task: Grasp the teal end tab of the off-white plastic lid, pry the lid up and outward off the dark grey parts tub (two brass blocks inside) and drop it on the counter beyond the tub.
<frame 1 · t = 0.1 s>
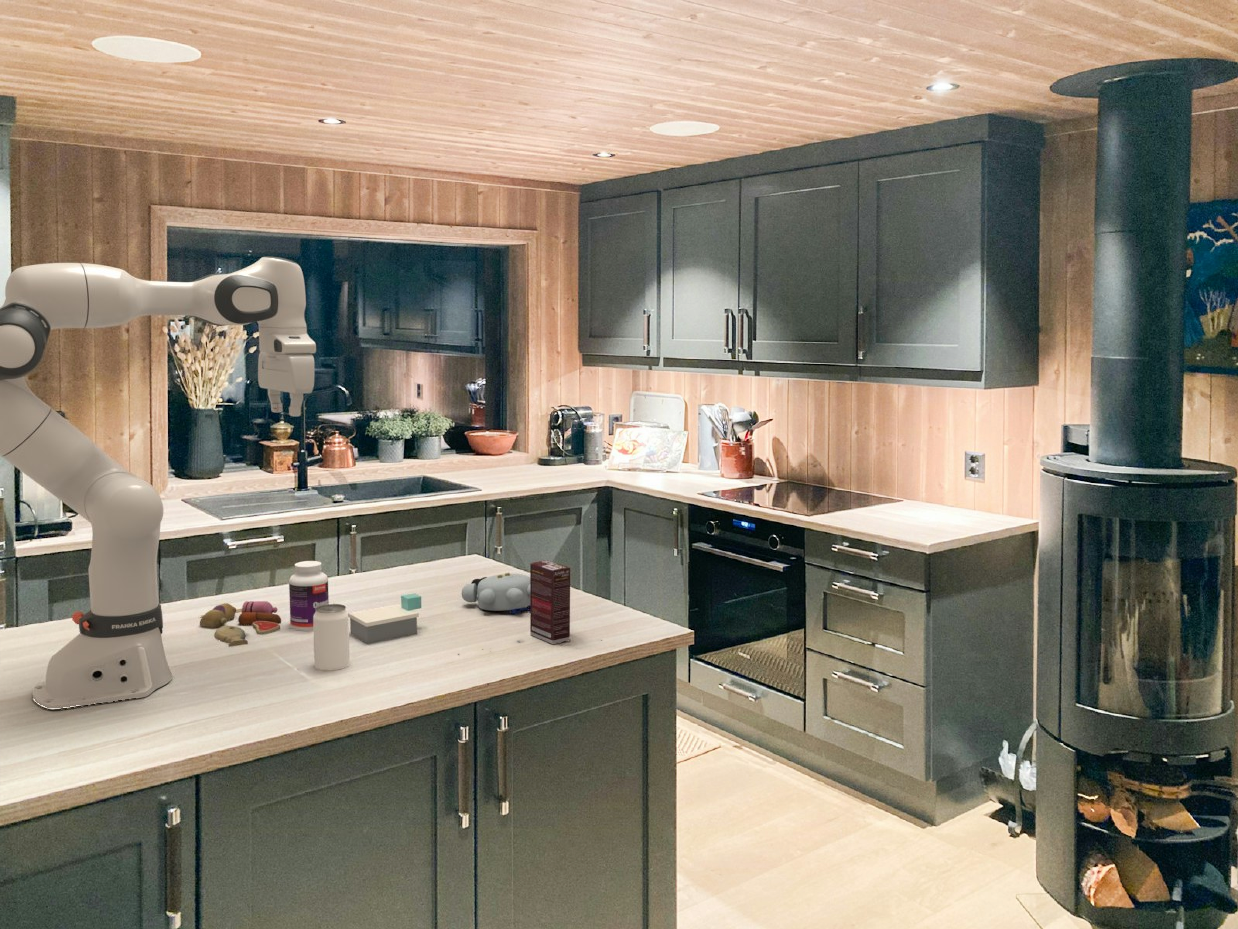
hand: (285, 414, 197), 48 cm above the countertop, fingers open, 8 cm apart
lid: (383, 616, 213), point 4 cm above the countertop, touching tub
pill bottle: (310, 629, 219), on the countertop
can: (332, 669, 194), on the countertop
tub: (383, 637, 213), on the countertop
toy food set: (245, 628, 221), on the countertop
supplement box: (549, 638, 215), on the countertop
brass block A: (373, 635, 212), point 1 cm above the countertop, touching tub
brass block B: (394, 631, 215), point 1 cm above the countertop, touching tub
figurine: (501, 606, 238), on the countertop
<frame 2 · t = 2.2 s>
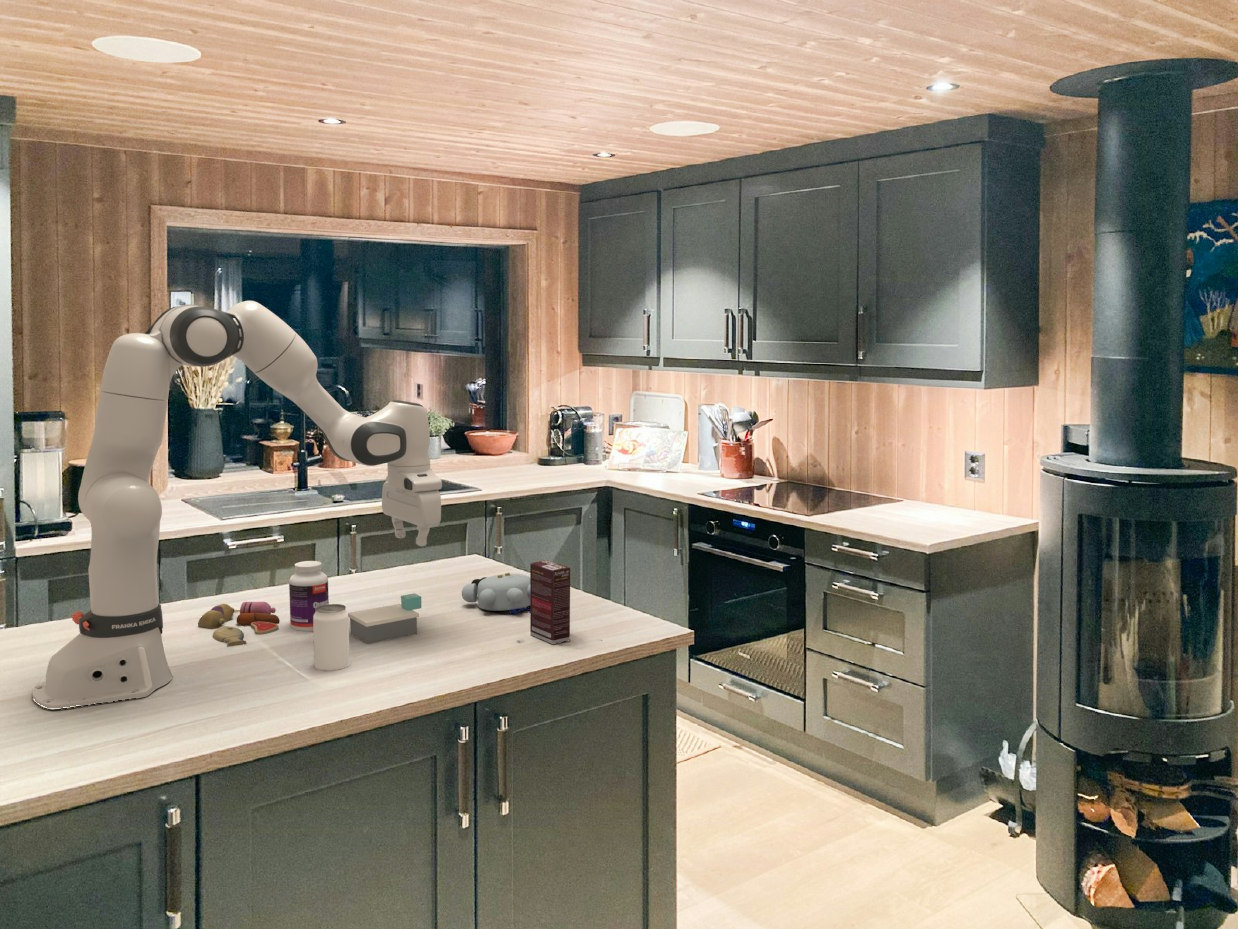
hand: (410, 541, 215), 20 cm above the countertop, fingers open, 8 cm apart
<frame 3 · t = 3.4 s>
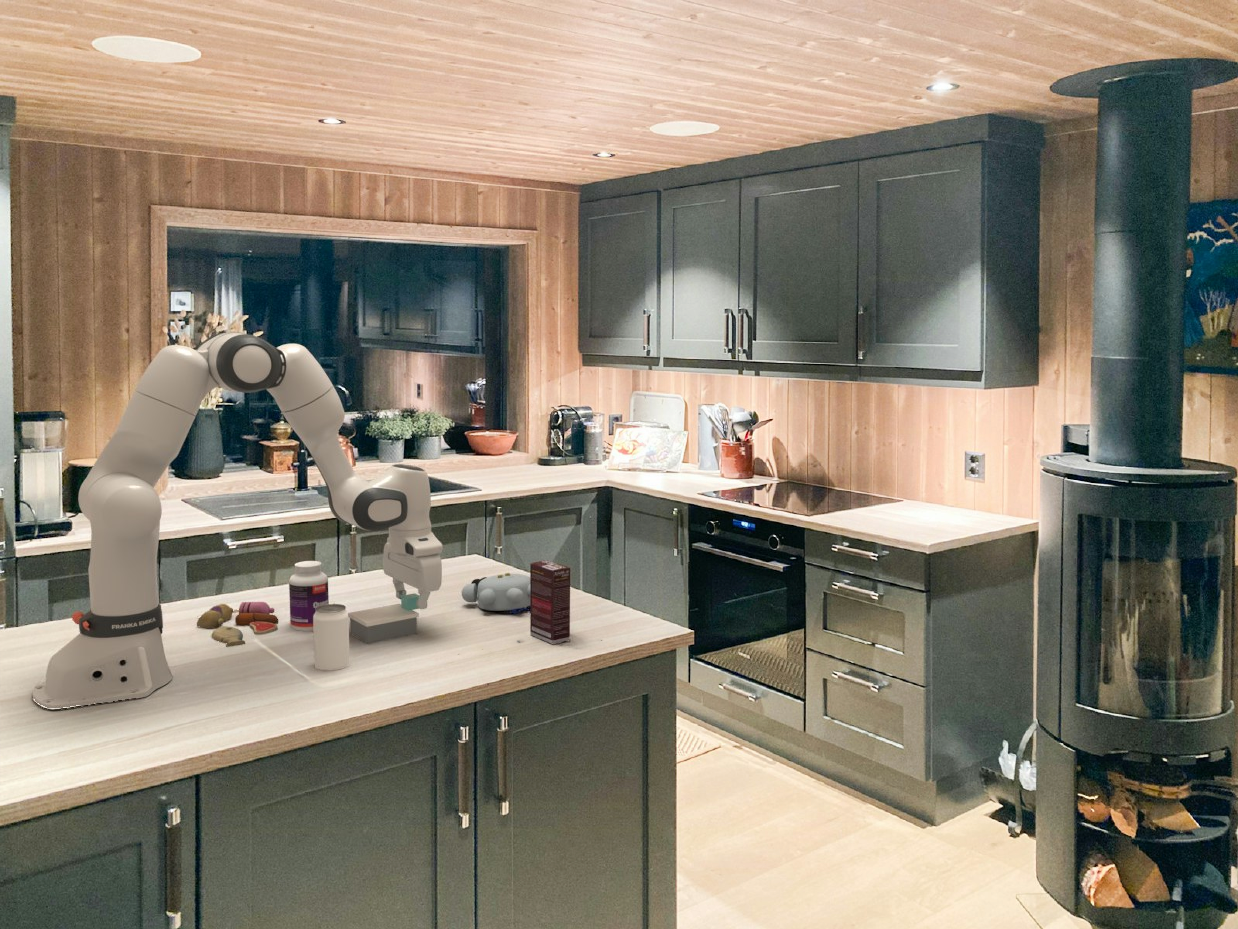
hand: (411, 603, 217), 6 cm above the countertop, fingers open, 8 cm apart
nothing on the countertop moved.
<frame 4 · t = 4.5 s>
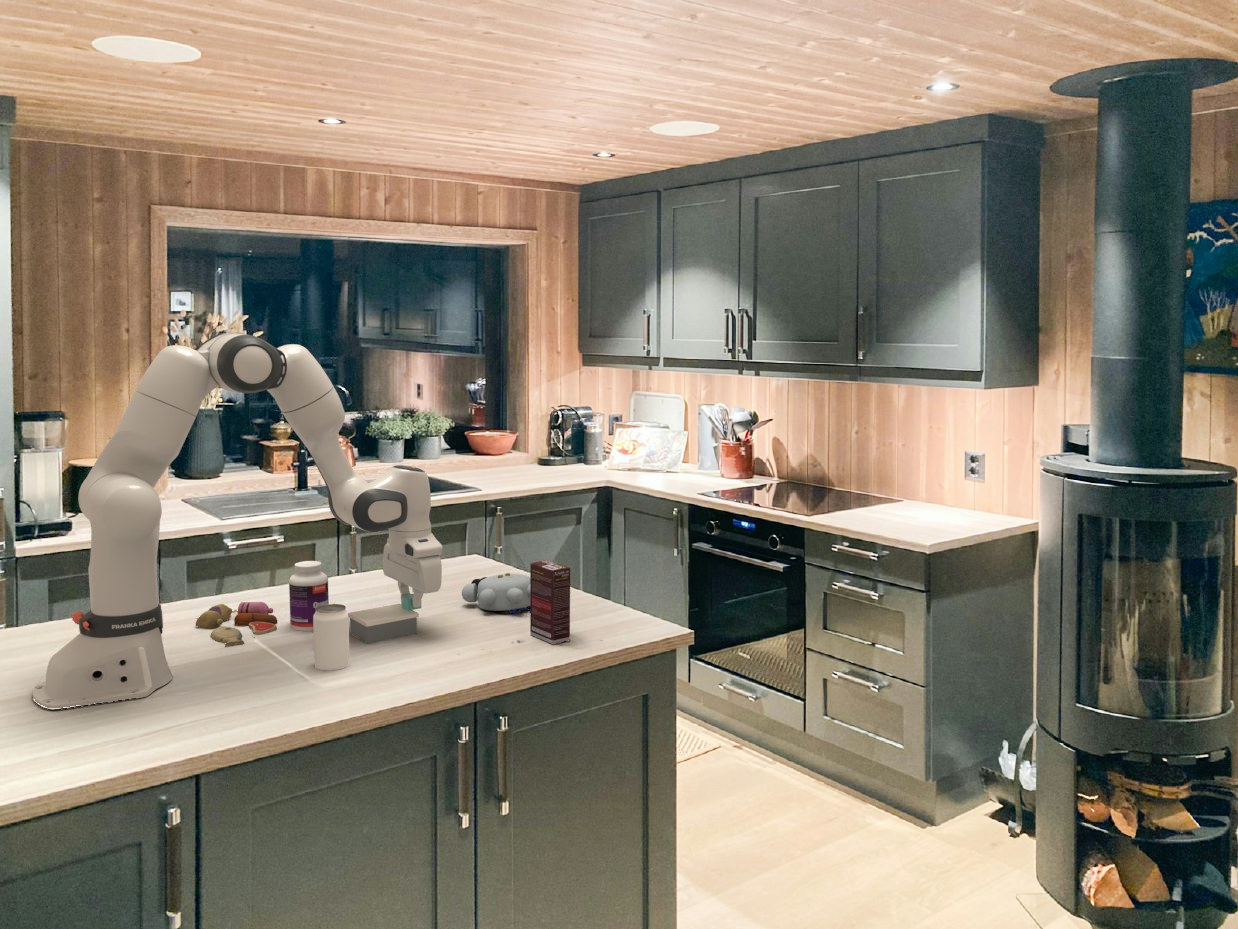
hand: (411, 604, 216), 6 cm above the countertop, fingers closed on lid, 3 cm apart
lid: (383, 616, 213), point 4 cm above the countertop, touching gripper, tub
everything else where it was.
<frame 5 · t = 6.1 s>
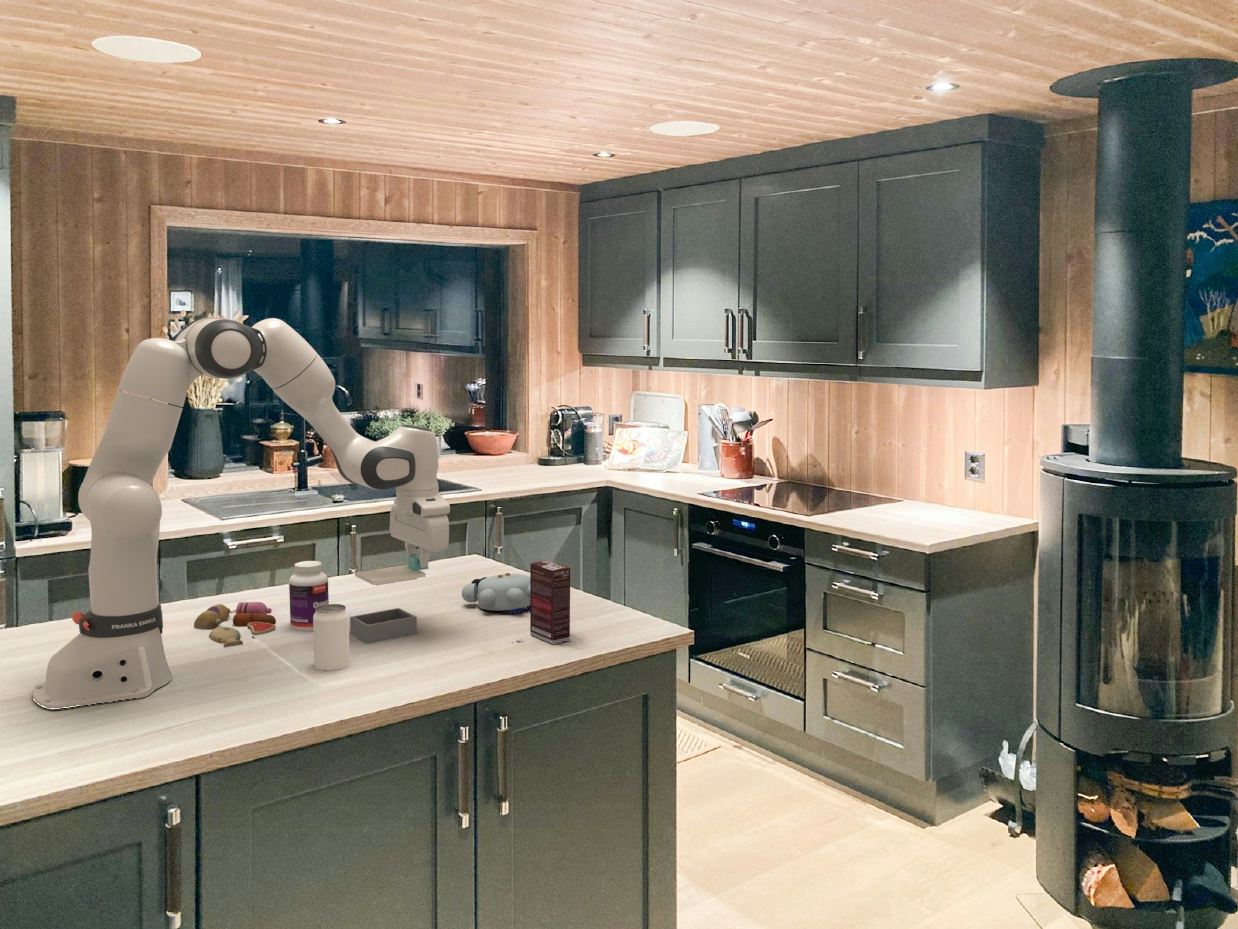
hand: (418, 564, 216), 15 cm above the countertop, fingers closed on lid, 3 cm apart
lid: (390, 576, 213), point 13 cm above the countertop, touching gripper
when the fingers open (14 cm above the countertop, at t = 7.8 s): lid drops 9 cm and tips over, resting on tub.
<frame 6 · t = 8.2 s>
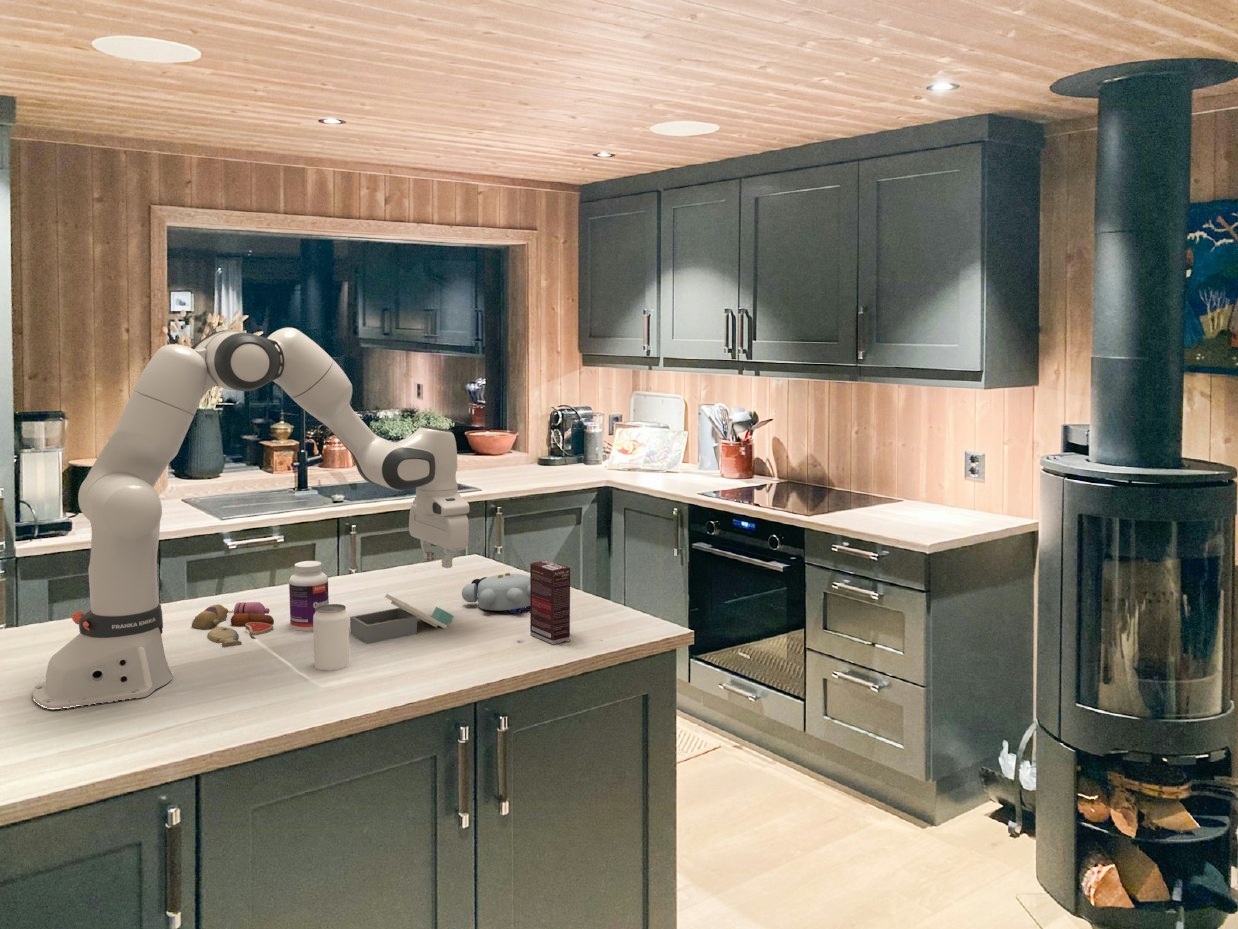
hand: (437, 563, 219), 14 cm above the countertop, fingers open, 7 cm apart
lid: (415, 613, 218), point 4 cm above the countertop, tilted 35°, touching tub
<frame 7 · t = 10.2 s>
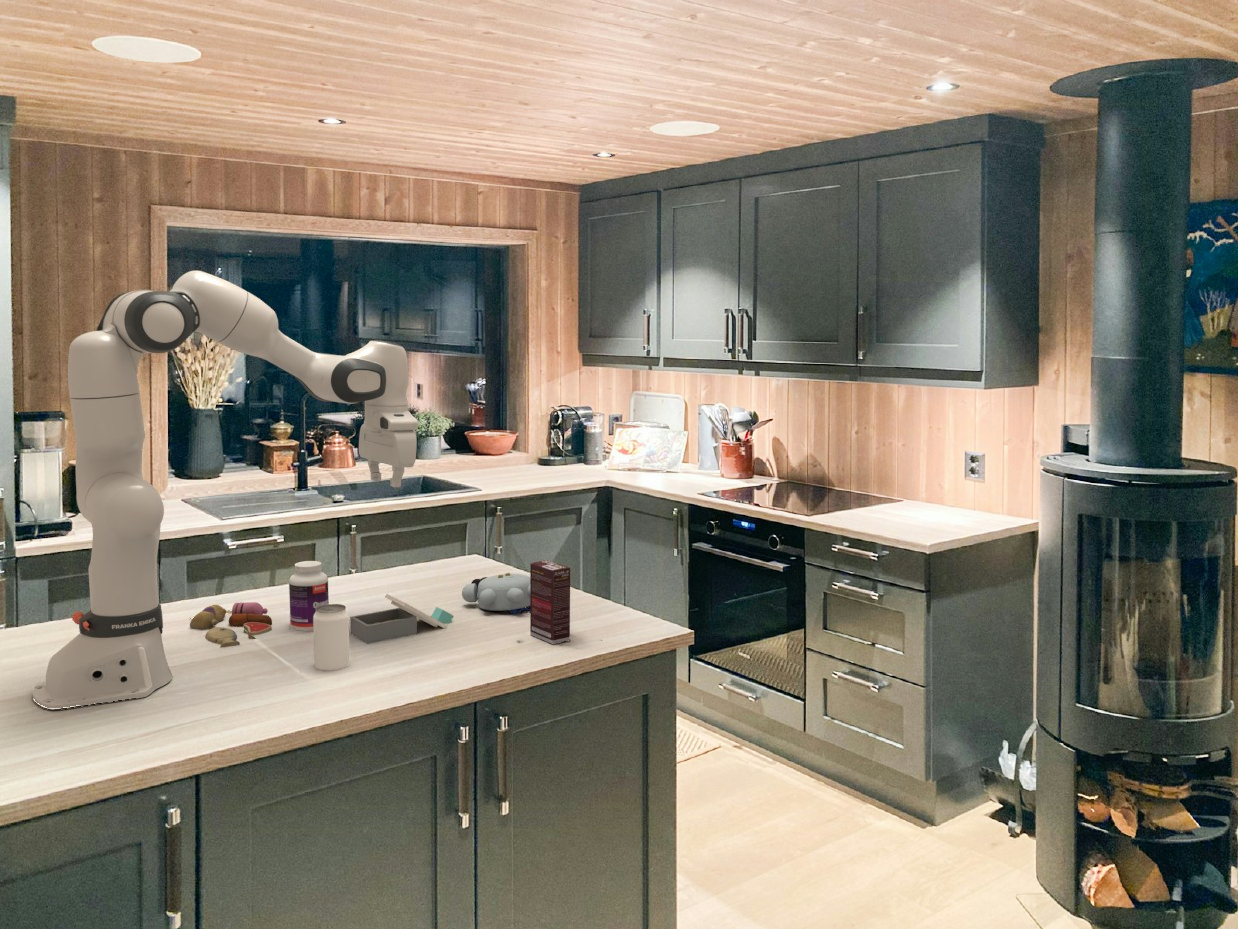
hand: (385, 483, 214), 32 cm above the countertop, fingers open, 8 cm apart
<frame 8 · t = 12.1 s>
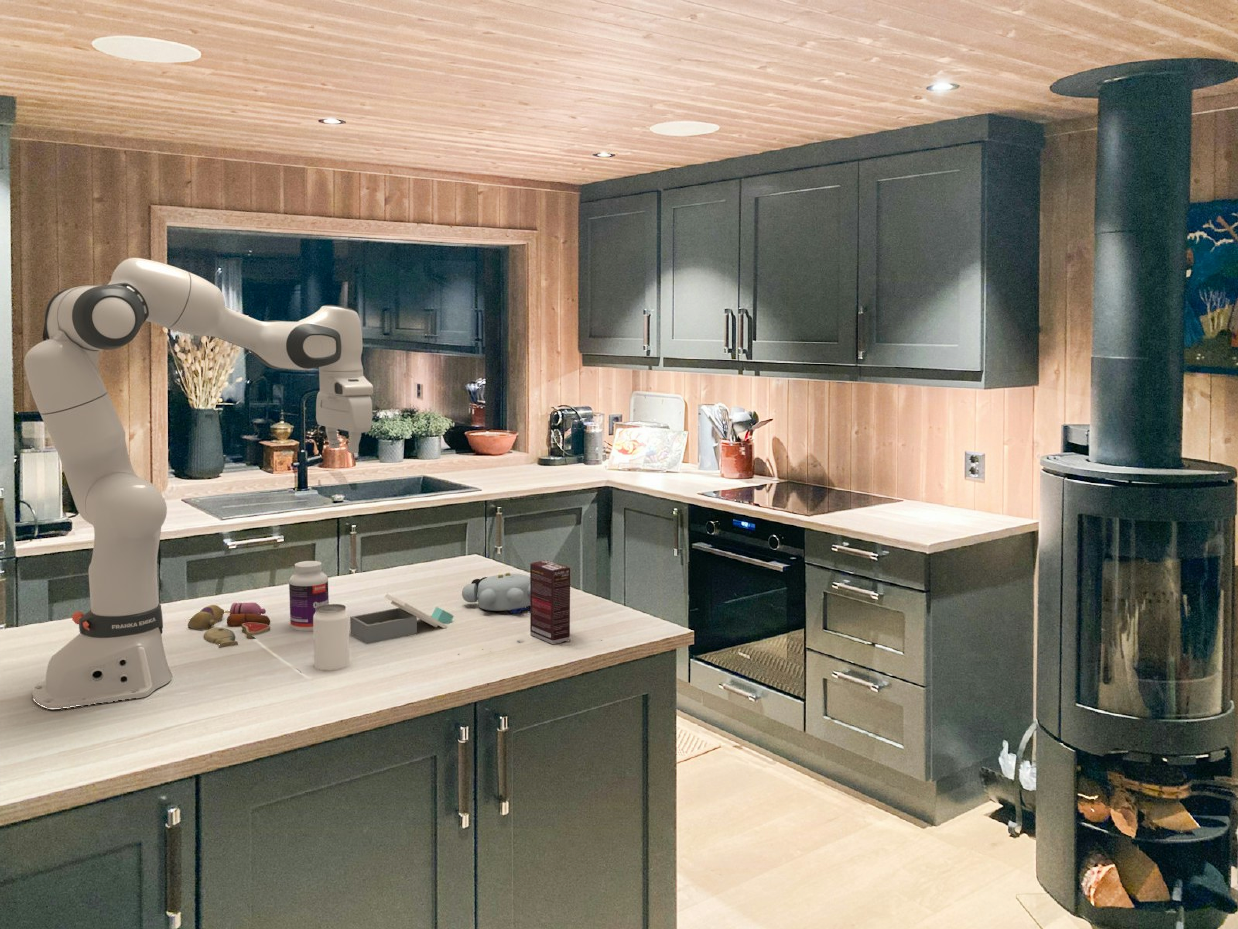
hand: (343, 450, 212), 39 cm above the countertop, fingers open, 8 cm apart
at the end: lid inside the target area (11.0 cm from its centre), point 3.9 cm above the countertop; the gripper is holding nothing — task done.
